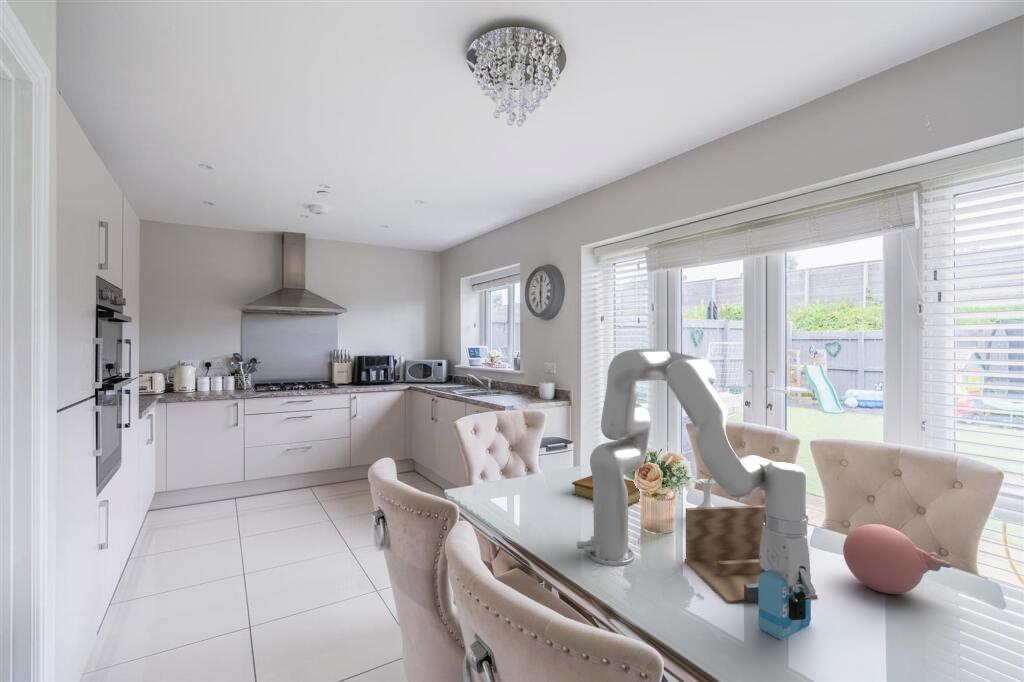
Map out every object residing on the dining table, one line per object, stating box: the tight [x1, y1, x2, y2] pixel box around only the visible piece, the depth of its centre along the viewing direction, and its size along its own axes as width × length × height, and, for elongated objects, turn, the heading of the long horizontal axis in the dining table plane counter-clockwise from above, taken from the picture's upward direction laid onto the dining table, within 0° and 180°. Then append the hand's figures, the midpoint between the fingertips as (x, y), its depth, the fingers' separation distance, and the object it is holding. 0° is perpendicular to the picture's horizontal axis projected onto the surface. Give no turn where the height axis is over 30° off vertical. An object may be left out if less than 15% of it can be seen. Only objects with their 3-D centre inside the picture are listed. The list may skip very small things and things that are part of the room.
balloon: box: [842, 523, 952, 595], centre depth 113 cm, size 15×20×15 cm
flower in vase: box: [695, 470, 716, 508], centre depth 157 cm, size 13×11×25 cm
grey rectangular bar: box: [744, 584, 758, 601], centre depth 109 cm, size 13×2×3 cm, turn 96°
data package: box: [757, 570, 812, 641], centre depth 99 cm, size 12×4×12 cm, turn 121°
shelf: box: [684, 504, 818, 605], centre depth 119 cm, size 22×21×15 cm
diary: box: [571, 475, 640, 508], centre depth 184 cm, size 23×19×6 cm
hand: (785, 608), depth 99 cm, fingers closed on data package, 6 cm apart
